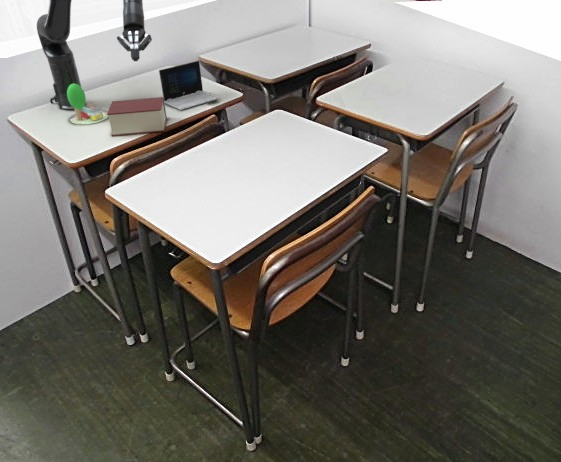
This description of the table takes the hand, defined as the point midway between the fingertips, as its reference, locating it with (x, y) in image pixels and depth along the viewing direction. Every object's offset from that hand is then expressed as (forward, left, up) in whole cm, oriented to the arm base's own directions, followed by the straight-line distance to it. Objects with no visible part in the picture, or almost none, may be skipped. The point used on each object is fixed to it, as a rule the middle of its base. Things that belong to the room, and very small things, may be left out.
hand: (135, 60), depth 192 cm
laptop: (+18, +4, -19) cm, 26 cm away
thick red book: (+1, -19, -18) cm, 27 cm away
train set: (-20, -5, -19) cm, 28 cm away
